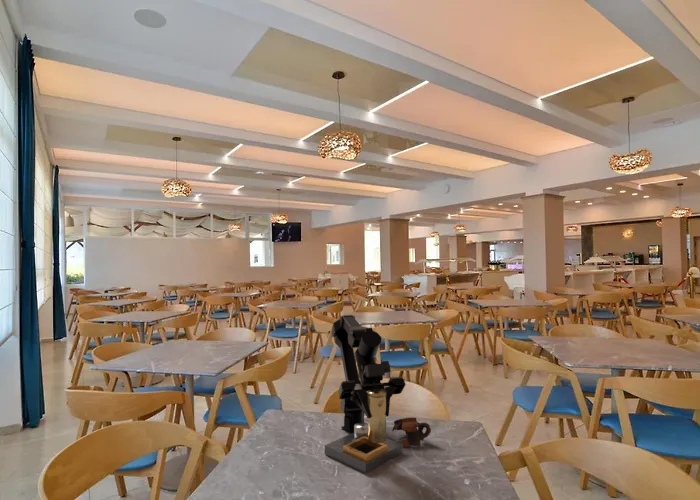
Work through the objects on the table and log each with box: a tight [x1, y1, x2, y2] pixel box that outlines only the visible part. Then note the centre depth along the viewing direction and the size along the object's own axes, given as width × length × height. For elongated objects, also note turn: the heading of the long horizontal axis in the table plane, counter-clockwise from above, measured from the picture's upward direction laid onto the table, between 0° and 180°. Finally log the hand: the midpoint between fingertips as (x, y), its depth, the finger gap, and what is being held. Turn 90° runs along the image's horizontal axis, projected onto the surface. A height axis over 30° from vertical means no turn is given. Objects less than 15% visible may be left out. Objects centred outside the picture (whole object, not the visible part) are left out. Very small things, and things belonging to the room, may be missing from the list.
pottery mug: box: [391, 416, 432, 448], centre depth 127 cm, size 12×10×8 cm
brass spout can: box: [367, 389, 387, 443], centre depth 111 cm, size 8×5×13 cm
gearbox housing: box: [324, 421, 403, 474], centre depth 119 cm, size 16×16×6 cm
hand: (378, 416), depth 111 cm, fingers closed on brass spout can, 5 cm apart
